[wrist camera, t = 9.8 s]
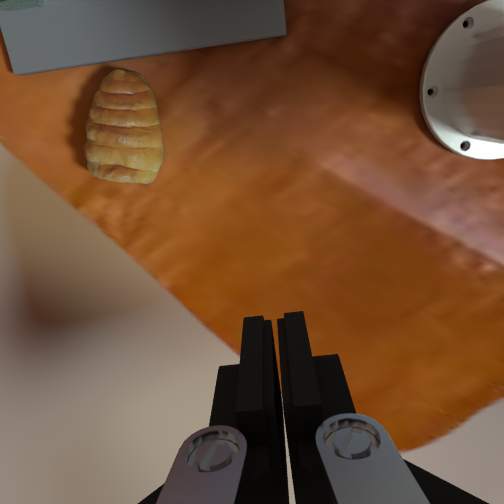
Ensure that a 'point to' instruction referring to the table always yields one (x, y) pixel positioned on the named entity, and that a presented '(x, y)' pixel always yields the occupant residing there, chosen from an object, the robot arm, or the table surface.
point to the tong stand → (19, 4)
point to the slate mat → (130, 29)
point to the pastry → (124, 130)
